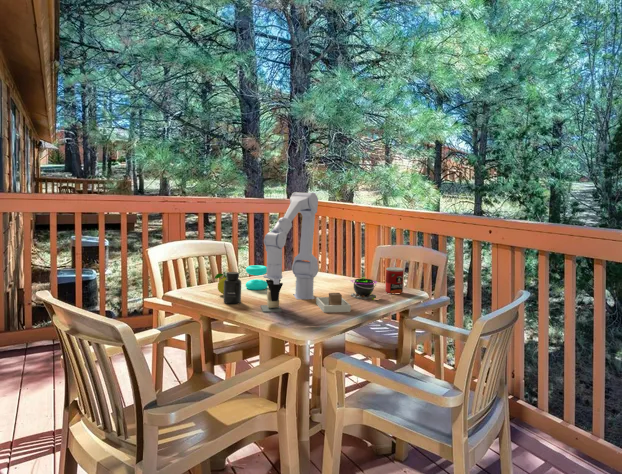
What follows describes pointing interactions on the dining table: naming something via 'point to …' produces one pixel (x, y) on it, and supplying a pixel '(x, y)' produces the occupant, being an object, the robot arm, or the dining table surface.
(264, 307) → the rubber mat
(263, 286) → the donuts
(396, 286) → the canned food
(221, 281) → the pear
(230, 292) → the supplement bottle
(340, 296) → the walnut block
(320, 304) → the parts bin
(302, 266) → the robot arm
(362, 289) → the toy cauldron
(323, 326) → the dining table surface
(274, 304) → the birch block
